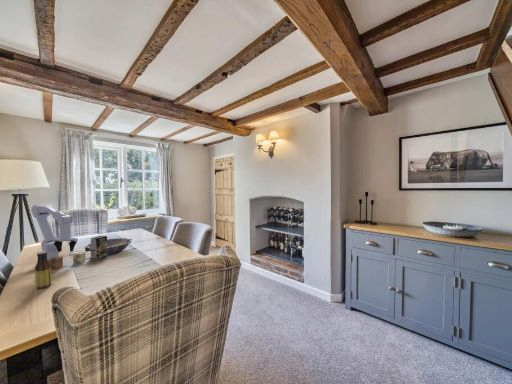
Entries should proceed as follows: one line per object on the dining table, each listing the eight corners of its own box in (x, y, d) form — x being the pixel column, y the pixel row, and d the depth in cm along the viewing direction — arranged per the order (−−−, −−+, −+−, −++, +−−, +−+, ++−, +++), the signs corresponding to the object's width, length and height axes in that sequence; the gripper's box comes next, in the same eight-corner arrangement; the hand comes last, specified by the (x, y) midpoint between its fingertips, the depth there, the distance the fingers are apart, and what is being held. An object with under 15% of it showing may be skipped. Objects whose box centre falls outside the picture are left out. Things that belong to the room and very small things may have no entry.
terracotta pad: (44, 271, 140) (44, 270, 140) (54, 266, 148) (54, 265, 148) (57, 270, 141) (57, 270, 141) (66, 266, 149) (66, 265, 149)
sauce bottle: (42, 284, 124) (42, 250, 123) (54, 284, 124) (53, 250, 124) (32, 290, 117) (31, 254, 116) (44, 289, 118) (43, 254, 117)
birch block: (73, 263, 154) (73, 254, 153) (78, 261, 159) (77, 251, 158) (80, 263, 154) (80, 253, 154) (85, 261, 159) (85, 251, 159)
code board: (41, 273, 139) (41, 272, 138) (66, 260, 160) (66, 260, 160) (70, 272, 141) (70, 271, 141) (91, 260, 162) (91, 259, 162)
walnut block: (48, 269, 142) (48, 259, 141) (54, 266, 147) (54, 256, 146) (57, 269, 142) (56, 258, 142) (62, 266, 147) (62, 256, 147)
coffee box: (97, 259, 164) (97, 238, 164) (90, 258, 166) (90, 238, 165) (107, 255, 173) (107, 235, 173) (101, 254, 175) (100, 235, 174)
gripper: (49, 233, 146) (49, 253, 147) (72, 233, 148) (72, 253, 149) (57, 231, 153) (57, 250, 154) (79, 231, 155) (79, 249, 156)
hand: (65, 251), depth 152 cm, fingers open, 7 cm apart
